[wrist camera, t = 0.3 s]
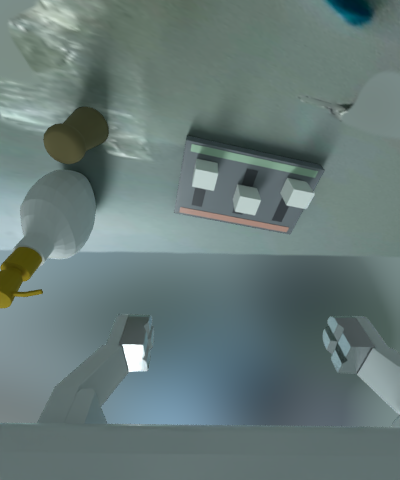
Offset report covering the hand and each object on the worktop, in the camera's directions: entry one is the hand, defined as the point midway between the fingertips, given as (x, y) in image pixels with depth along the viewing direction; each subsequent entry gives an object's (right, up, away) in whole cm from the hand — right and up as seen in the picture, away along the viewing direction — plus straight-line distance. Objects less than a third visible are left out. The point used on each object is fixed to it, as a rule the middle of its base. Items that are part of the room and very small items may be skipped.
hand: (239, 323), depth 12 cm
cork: (-20, +23, +30) cm, 43 cm away
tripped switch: (+6, +12, +34) cm, 37 cm away
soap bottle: (-25, +13, +38) cm, 47 cm away
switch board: (+6, +14, +36) cm, 39 cm away
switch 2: (+15, +13, +33) cm, 39 cm away
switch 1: (-1, +16, +31) cm, 35 cm away
